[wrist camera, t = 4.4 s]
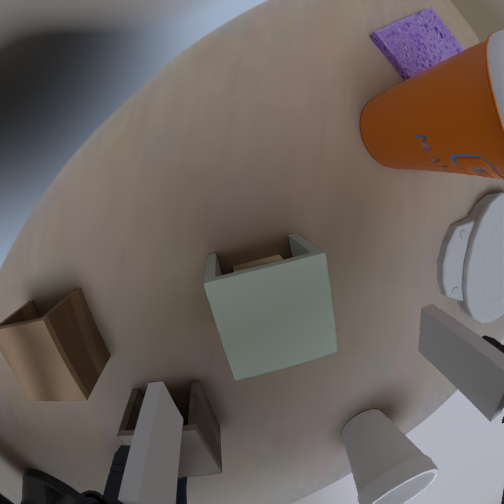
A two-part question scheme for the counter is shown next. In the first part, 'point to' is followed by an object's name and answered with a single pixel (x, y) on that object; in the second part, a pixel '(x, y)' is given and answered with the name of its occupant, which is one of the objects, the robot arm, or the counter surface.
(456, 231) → the lid
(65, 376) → the cover walnut
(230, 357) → the cover green
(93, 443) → the counter surface
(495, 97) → the shaker bottle
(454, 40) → the sponges
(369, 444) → the foam cup
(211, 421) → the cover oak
